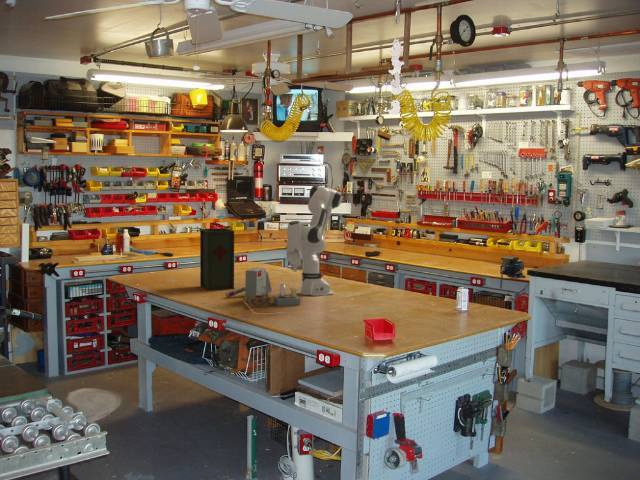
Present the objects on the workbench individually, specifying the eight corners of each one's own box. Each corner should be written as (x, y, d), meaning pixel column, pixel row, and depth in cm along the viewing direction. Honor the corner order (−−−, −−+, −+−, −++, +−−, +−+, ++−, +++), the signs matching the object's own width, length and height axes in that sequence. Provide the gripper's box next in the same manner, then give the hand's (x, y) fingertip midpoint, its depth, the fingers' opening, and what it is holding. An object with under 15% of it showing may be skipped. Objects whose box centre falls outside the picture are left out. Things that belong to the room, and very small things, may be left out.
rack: (267, 304, 396) (267, 294, 396) (270, 307, 387) (270, 298, 386) (247, 305, 393) (248, 295, 392) (250, 308, 383) (250, 298, 383)
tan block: (294, 297, 398) (295, 288, 397) (296, 299, 393) (297, 289, 393) (290, 297, 397) (290, 288, 396) (292, 299, 392) (292, 289, 392)
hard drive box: (256, 303, 399) (256, 271, 397) (244, 302, 401) (244, 270, 399) (266, 298, 413) (266, 267, 411) (255, 297, 416) (255, 267, 414)
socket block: (296, 303, 401) (296, 295, 401) (300, 306, 392) (300, 298, 391) (273, 304, 397) (274, 296, 397) (277, 307, 388) (277, 299, 387)
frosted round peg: (284, 303, 396) (284, 283, 394) (285, 304, 392) (285, 284, 391) (279, 303, 395) (279, 284, 393) (280, 304, 392) (280, 285, 390)
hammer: (226, 285, 408) (267, 270, 423) (221, 283, 415) (261, 268, 430) (231, 308, 412) (272, 292, 427) (226, 305, 419) (266, 290, 434)
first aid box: (225, 284, 460) (226, 228, 456) (234, 289, 444) (234, 230, 439) (200, 286, 452) (200, 228, 448) (207, 290, 436) (207, 231, 431)
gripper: (303, 250, 383) (303, 273, 384) (295, 246, 402) (294, 268, 404) (293, 250, 381) (292, 273, 383) (285, 246, 400) (285, 268, 402)
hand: (293, 270), depth 393 cm, fingers open, 5 cm apart
